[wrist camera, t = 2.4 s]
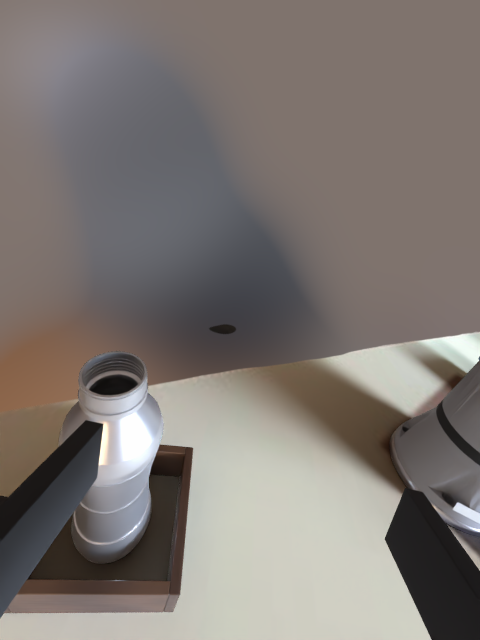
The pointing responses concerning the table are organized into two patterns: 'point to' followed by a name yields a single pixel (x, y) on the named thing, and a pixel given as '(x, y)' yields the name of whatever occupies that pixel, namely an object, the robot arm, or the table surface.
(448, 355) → the table surface
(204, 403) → the table surface
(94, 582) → the walnut box
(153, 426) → the silver metal bottle
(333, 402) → the table surface
